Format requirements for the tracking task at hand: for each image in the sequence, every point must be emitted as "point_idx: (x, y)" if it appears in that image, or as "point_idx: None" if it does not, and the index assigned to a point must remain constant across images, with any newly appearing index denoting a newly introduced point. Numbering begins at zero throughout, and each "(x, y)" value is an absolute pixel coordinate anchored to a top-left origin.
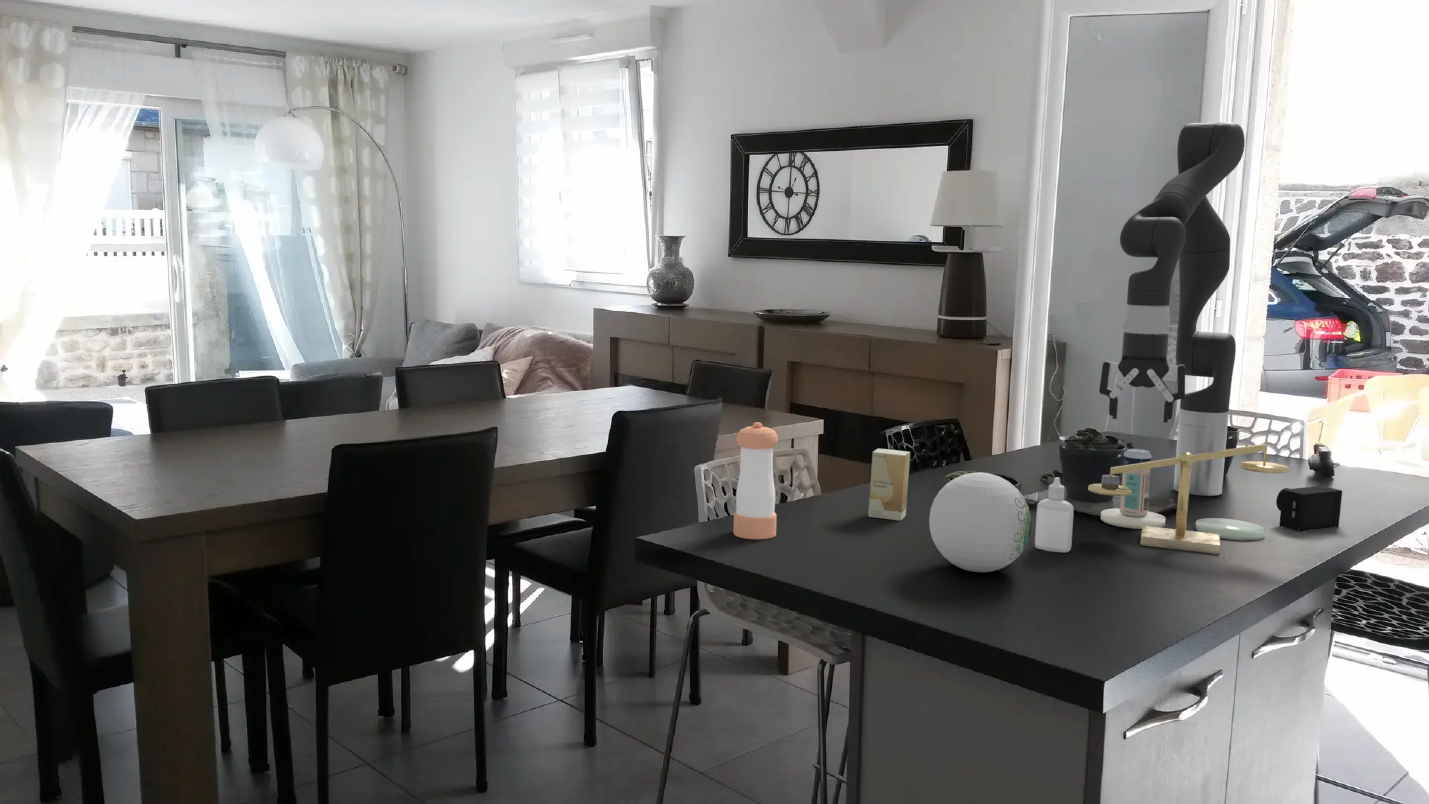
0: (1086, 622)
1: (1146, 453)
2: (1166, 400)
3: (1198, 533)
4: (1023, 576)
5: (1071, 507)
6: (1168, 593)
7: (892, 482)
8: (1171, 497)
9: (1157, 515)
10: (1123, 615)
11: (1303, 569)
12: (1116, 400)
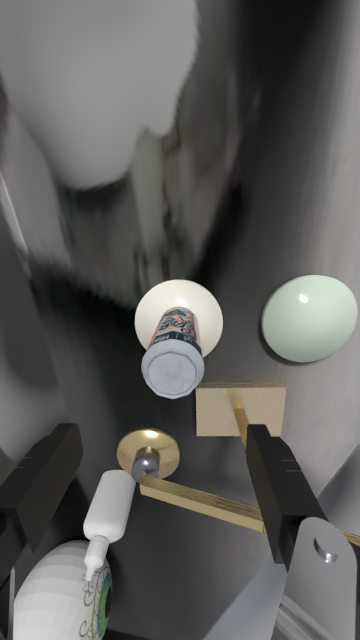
0: (177, 601)
1: (192, 389)
2: (288, 567)
3: (261, 395)
4: (119, 546)
5: (122, 535)
6: (224, 544)
7: None
8: (233, 54)
9: (211, 307)
10: (197, 587)
11: (353, 445)
12: (31, 544)
